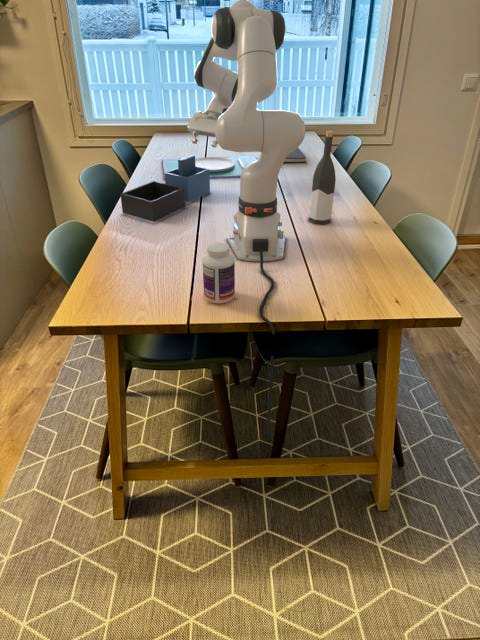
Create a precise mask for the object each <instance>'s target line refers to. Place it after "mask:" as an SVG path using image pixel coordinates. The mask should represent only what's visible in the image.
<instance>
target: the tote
mask: <svg viewBox="0 0 480 640" xmlns="http://www.w3.org/2000/svg"><path fill="white" fill-rule="evenodd" d="M119 196H120V202H121V209H122V214H125V215H127V216H128V215H129V216H132V217H135V218H139V219H142V220H146V221H149V222H153V223H155V222H156V221H159V220H161V219H163V218H165V217H167V216H169V215H171V214H173V213H175V212H178V211H180V210H181V209H184V208H185V207H186V202H185V193H184V188H182V187H178V186H173V185H169V184H165V182H160V181H156V180H152V181H149V182H147V183H145V184H142V185H139V186H137V187H134V188H131V189H129V190H127V191H124V192H121V193H119Z"/></svg>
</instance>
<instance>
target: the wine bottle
mask: <svg viewBox="0 0 480 640" xmlns="http://www.w3.org/2000/svg"><path fill="white" fill-rule="evenodd" d="M333 134H334V132H333V131H332V130H327V131H326V133H325V136H324V146H323V155H322V156H321V158H320V160H319V161H318V163H317V165H316V167H315V169H314V172H313V175H312V184H311V185H312V186H311V194H310V205H309V214H308V221H309V223H312V224H314V225H326V224H330V223H331V219H332V212H333V204H334V195H335V189H336V187H335V186H336V181H337V179H336V178H337V177H336V169H335V165H334V161H333V159H332V155H331V154H332V147H333V146H332V145H333V138H334V135H333Z"/></svg>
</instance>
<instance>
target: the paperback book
mask: <svg viewBox="0 0 480 640" xmlns="http://www.w3.org/2000/svg"><path fill="white" fill-rule="evenodd" d="M306 159H307V157H306V155H305V154H304V153H303V152H302V150H301V149H300V147H298V148H297V149H295V150H294V151H293V152H292V153H291V154H290V155H289V156H288V157H287V158H286V159H285V161H284V162H283V164H301V163H307V160H306Z"/></svg>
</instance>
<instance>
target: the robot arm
mask: <svg viewBox="0 0 480 640" xmlns="http://www.w3.org/2000/svg"><path fill="white" fill-rule="evenodd" d="M210 29H211V30H210V32H211V37H210V39H209V41H208V43H207V45H206V47H205V50H204V51H203V54H202V57H201V59H200V61H198V63H197V65H196V67H195V70H194V76H193V78H194V81H195V83H196V85H197V86H198V87H200V88H202V89H205V90H207V91H210V92H212V93H213V96H212V98H211V100H210V102H209V103H208V106H207V108H206V110H205V111H201V110H198V111H197V112H194V113H193V115H192V117H191V118H190V119H189V121H188V123H187V126H186V128H187V130H188V132H189V133H190V134H192V139H191V143H192V144H194V145H197V144H198V141H199V140H198V138H197V137H198V136H204V137H211V138H215V139H214V140H211V143H210V145H211V147H212V148H217V146H219V147H220V149H222V150H223V151H227V152H228V151H229V152H235V153H260V155H259V157H258V158H256V159H257V160H256V161H254V162H253V163H251V164H249V165H247V166H246V167H245V168H244V169H243V170H242V172H241V175H240V177H239V179H240V181H239V196H238V201H237V205H238V211H237V212H236V213H234V214H233V221H232V225H233V228H232V234H231V235H229V236H227V242H228V245H229V247H231V250H232V251H233V253H234V254H235V256H236V258H237V259H238V260H241V261H245V262H259V267H260V268H259V269H260V271H261V274H262V275H263V276H264V277H265V278H266V279H267V280H269V281H270V284H271V285H270V287H269V289H268V290H267V292H266V293H265V295H264V298H263V299H262V302H261V304H260V307H259V316H260V318H261V320H262V321H264V322H265V323H266V324H267V325H268V326H269V328H270V330H271V334H272V335H276V329H275V327H274V324H273V323H272V322H271V320H269V319H268V318H267V317H265V316H264V307H265V305H266V303H267V300H268V298H269V296H270V294H271V293H272V292H273V289H274V288H275V281H274V279H273V278H272V277H271V276H269V275H268V274H267V273H266V272H265V270H264V262H273V261H274V262H275V261H279V260H282V259H283V258H284V256H285V255H284V254H285V247H286V246H285V245H286V236H285V234H284V232H285V230H283V229H280V227H283V222H282V221H281V213H280V212H278V197H277V190H278V189H277V188H278V181H279V174H280V172H281V168H282V166H283V164H284V163H283V162H284V161H285V159H286V158H287V157H288V156H289V155H290V154H291V153H292V152H293V151H294V150H295V149H297V148H300V146H301V144H303V141H304V139H305V136H306V124H305V121H304V119H303V117H302V116H301V114H300V113H298V112H294V111H290V110H285V109H275V110H274V109H271V110H269V109H268V110H266V109H265V110H262V109H259V108H258V105H259V104H260V103H262V102H263V101H265V100H267V99H268V98H270V97H271V96H273V95H274V93H275V92H276V90H277V88H278V64H277V51H279V50H280V49H281V48H282V46H283V44H284V42H285V38H286V32H287V28H286V20H285V17H284V15H283V14H282V13H281V12H279V11H276V10H274V9H269V10H267V9H263V8H256V6H255V5H254V3H252V2H251V1H248V0H237V1H235V2H234V3H233V4H232V5H231V7H229V6H225V7H221V8H218V9H217V10H215V12H214V13H213V17H212V20H211V25H210ZM215 58H219V59H225V60H228V61H231V62H237V63H236V64H237V72H236V71H234V70H233V69H230V68H228V67H226V66H224V65H222V64H220V63H218V62H216V61H215ZM274 362H275V355H270V371H269V389H268V402H267V418H266V431H265V433H266V434H265V435H266V436H267V437H269V436H270V430H271V429H270V428H271V414H272V399H273V387H274V386H273V385H274V367H275V363H274Z"/></svg>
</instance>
